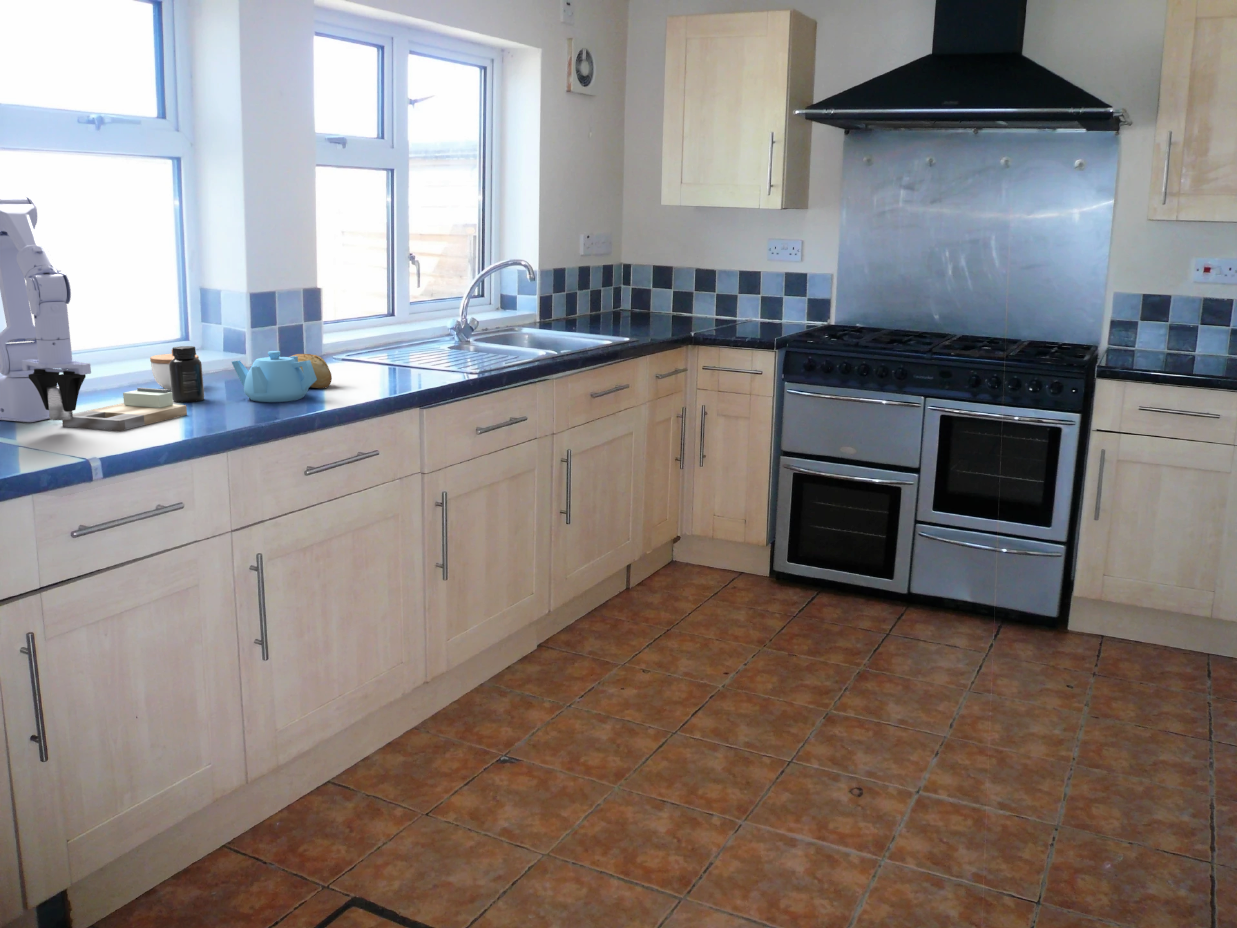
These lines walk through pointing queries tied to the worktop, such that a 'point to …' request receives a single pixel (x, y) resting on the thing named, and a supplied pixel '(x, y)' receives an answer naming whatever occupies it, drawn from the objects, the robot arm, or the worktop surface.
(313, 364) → the bread roll
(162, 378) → the lidded jar
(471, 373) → the worktop surface
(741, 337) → the worktop surface
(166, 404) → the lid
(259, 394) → the teapot
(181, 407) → the housing
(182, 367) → the supplement bottle
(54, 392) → the peg
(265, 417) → the worktop surface
